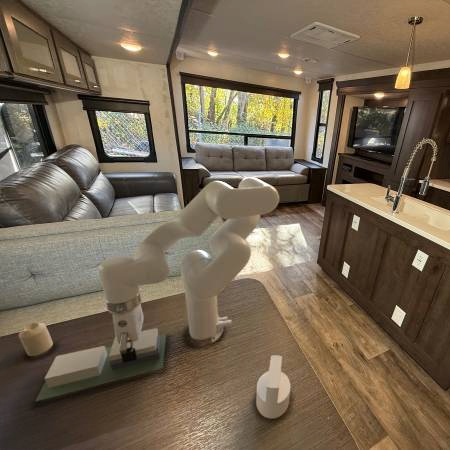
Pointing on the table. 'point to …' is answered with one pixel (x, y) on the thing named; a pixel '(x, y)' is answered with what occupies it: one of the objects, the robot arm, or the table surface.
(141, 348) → the white book
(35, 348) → the candle
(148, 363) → the shelf board
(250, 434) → the table surface
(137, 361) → the grey book
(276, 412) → the base with upright slab
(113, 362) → the grey book
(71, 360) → the white book
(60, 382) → the white book
